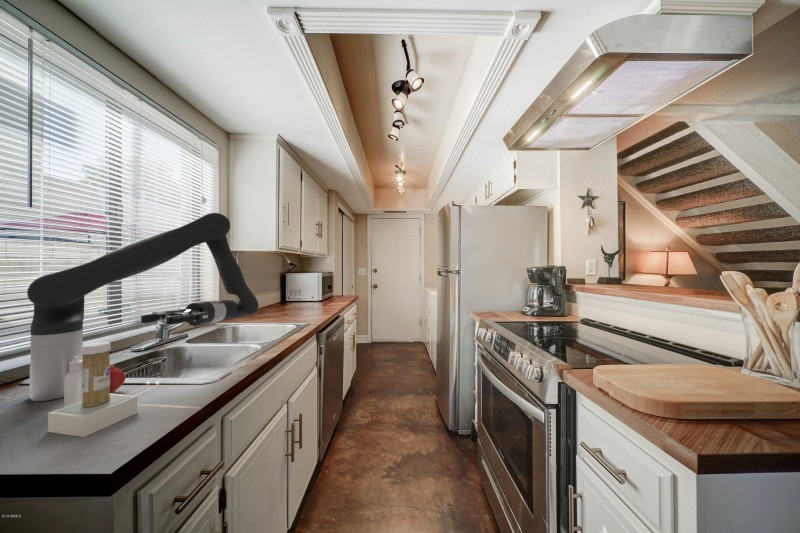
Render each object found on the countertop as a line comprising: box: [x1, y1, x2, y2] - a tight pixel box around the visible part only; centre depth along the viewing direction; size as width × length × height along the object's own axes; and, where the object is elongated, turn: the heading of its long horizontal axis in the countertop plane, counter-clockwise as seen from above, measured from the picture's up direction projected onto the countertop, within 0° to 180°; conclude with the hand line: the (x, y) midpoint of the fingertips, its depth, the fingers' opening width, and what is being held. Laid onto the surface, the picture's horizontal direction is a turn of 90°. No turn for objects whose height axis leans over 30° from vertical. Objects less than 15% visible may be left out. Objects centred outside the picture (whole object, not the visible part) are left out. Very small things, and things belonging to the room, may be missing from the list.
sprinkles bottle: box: [81, 341, 112, 407], centre depth 64 cm, size 5×5×14 cm
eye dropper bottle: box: [63, 356, 83, 407], centre depth 73 cm, size 4×6×12 cm
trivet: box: [47, 393, 139, 438], centre depth 64 cm, size 10×10×4 cm
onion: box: [110, 363, 126, 394], centre depth 79 cm, size 6×6×8 cm
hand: (154, 320), depth 77 cm, fingers open, 8 cm apart
